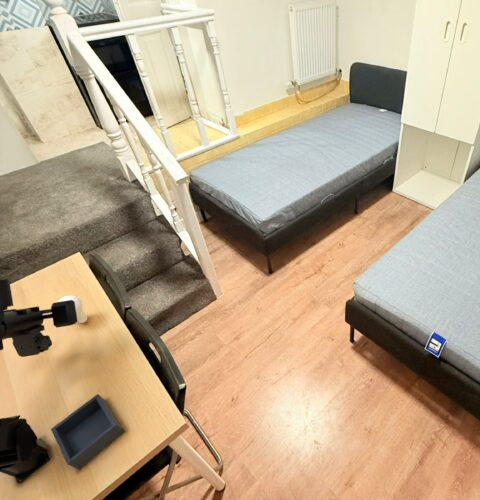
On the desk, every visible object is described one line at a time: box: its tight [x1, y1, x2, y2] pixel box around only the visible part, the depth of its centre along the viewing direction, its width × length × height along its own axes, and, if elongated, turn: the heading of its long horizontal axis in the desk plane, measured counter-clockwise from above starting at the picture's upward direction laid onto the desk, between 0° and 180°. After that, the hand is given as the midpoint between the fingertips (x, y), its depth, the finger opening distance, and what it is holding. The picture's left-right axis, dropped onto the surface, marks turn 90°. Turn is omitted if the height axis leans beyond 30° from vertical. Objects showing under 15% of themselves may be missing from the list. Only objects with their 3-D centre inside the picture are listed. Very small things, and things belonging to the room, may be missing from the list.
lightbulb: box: [57, 294, 88, 324], centre depth 98 cm, size 6×6×11 cm
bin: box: [50, 393, 126, 471], centre depth 78 cm, size 11×11×5 cm
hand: (56, 312), depth 91 cm, fingers open, 9 cm apart
